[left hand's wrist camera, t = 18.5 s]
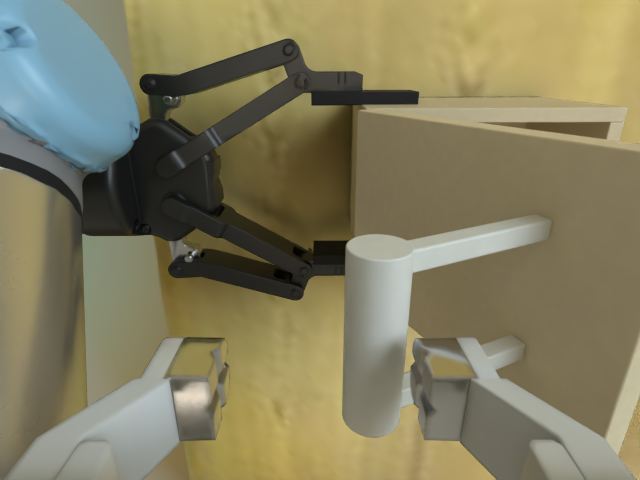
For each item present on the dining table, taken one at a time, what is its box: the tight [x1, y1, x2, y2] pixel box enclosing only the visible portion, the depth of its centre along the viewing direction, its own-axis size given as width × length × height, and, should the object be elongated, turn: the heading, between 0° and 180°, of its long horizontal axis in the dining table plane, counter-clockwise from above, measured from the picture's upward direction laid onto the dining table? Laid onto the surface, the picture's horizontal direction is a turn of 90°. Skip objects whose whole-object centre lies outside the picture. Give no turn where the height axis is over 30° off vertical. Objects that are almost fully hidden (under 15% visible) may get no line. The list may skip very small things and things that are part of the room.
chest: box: [350, 97, 628, 238], centre depth 30 cm, size 14×10×10 cm
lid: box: [342, 109, 640, 455], centre depth 16 cm, size 15×10×8 cm
